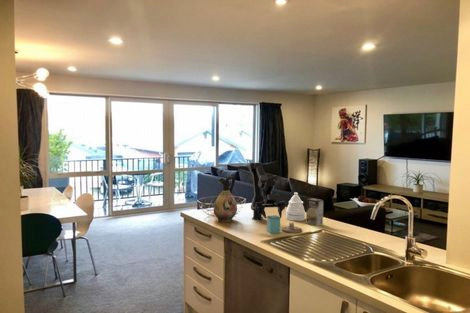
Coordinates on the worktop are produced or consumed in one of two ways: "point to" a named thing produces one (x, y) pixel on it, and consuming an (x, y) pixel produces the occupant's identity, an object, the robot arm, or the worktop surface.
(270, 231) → the teal upright block
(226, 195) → the ceramic jug
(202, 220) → the worktop surface
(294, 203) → the honey pot
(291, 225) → the post stand
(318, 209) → the coffee box
